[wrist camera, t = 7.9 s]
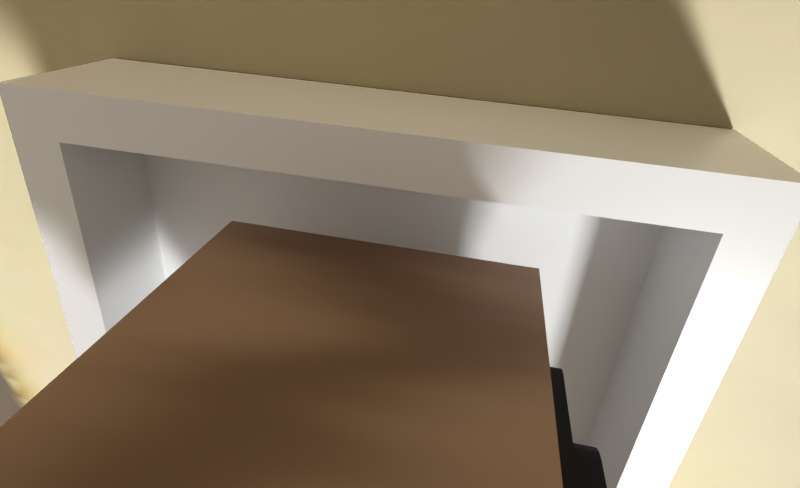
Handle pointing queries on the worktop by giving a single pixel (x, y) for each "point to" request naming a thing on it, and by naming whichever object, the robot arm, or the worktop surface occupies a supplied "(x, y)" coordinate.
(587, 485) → the robot arm
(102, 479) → the walnut block
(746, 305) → the box
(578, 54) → the worktop surface
